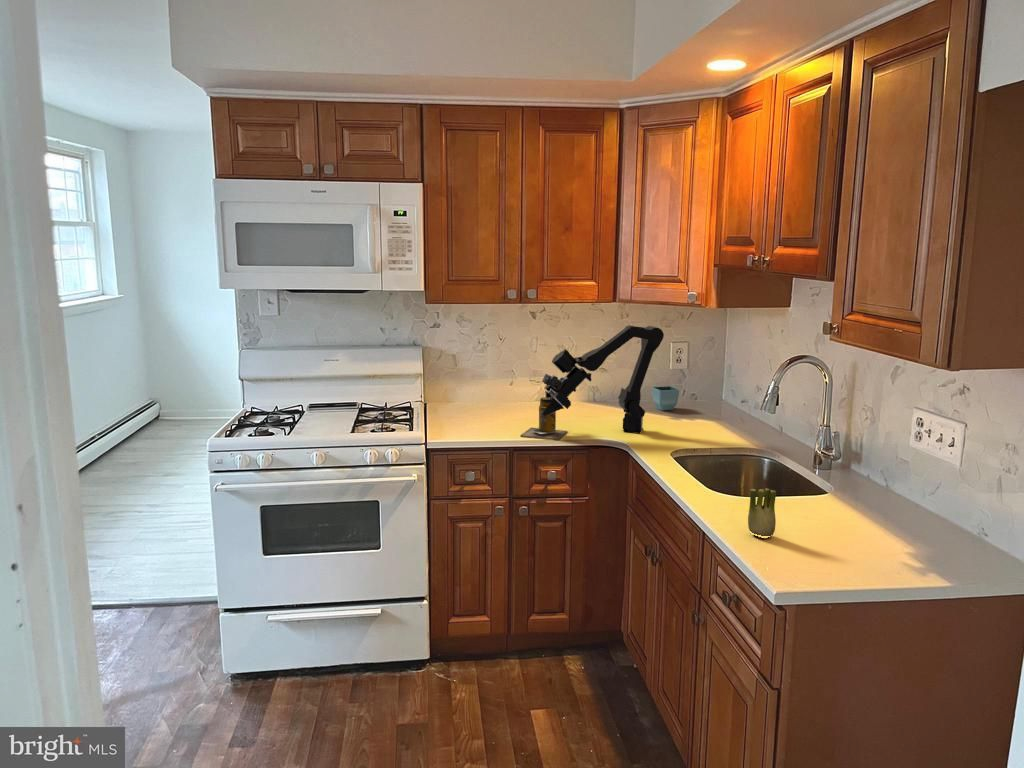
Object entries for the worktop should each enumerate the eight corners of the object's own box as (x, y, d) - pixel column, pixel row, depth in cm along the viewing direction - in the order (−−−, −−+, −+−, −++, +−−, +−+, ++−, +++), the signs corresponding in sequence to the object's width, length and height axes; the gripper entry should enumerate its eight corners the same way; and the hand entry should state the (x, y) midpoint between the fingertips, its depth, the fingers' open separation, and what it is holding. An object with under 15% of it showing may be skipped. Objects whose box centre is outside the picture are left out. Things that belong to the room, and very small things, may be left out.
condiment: (560, 431, 279) (560, 398, 277) (541, 434, 275) (541, 401, 273) (548, 428, 285) (548, 395, 283) (529, 430, 281) (529, 398, 279)
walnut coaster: (567, 432, 284) (567, 430, 284) (558, 440, 273) (558, 438, 273) (531, 429, 289) (531, 427, 288) (520, 436, 277) (520, 435, 277)
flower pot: (650, 407, 326) (651, 386, 324) (669, 406, 328) (670, 385, 326) (659, 412, 318) (660, 390, 316) (679, 411, 320) (680, 389, 318)
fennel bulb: (745, 536, 186) (748, 488, 184) (753, 530, 190) (756, 483, 188) (768, 542, 183) (772, 493, 180) (776, 536, 186) (780, 488, 184)
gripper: (550, 362, 286) (520, 392, 286) (562, 370, 268) (530, 403, 268) (570, 382, 289) (541, 412, 289) (584, 392, 271) (552, 424, 271)
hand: (541, 412), depth 279 cm, fingers closed on condiment, 6 cm apart
